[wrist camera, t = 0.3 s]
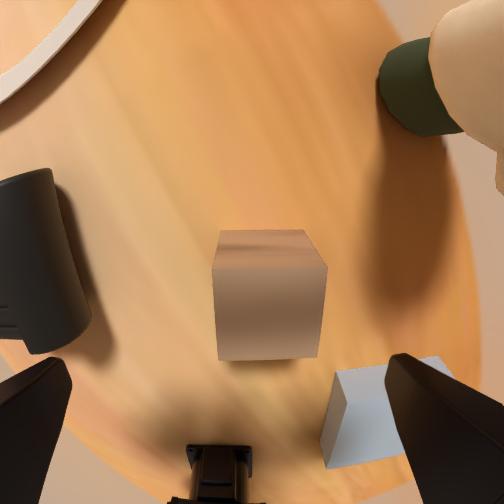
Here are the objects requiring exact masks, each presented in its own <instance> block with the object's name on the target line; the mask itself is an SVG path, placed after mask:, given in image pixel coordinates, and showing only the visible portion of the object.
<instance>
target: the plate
mask: <svg viewBox="0 0 504 504" xmlns="http://www.w3.org/2000/svg"><path fill="white" fill-rule="evenodd" d="M101 2H102V0H78V1H77V3H76V4H75V5H74V6H73V7H72V9H71V10H70V11H69V12H68V13H67V15H66V16H65V17H64V18H63V19H62V20H61V22H60V23H59V24H58V25H57V26H56V27H55V28H54V29H53V30H52V31H51V33H50V34H49V35H48V36H47V37H46V38H45V39H44V40H43V41H42V42H41V43H40V44H39V45H38V46H37V47H36V48H35V49H34V50H33V51H31V52H30V53H29V54H28V55H27V56H26V57H25V58H24V59H23V60H22V61H20V62H19V63H18V64H17V65H15V66H14V67H13V68H11V69H10V70H8V71H7V72H5V73H4V74H2V75H0V104H1V103H3V102H4V101H5V100H7V99H8V98H10V97H11V96H12V95H13V94H14V93H16V92H17V91H18V90H19V89H20V88H22V87H23V86H24V85H25V84H26V83H27V82H28V81H29V80H30V79H32V78H33V77H34V76H35V75H36V74H37V73H38V72H39V71H40V70H41V69H42V68H43V67H44V66H45V65H46V64H47V63H48V62H49V61H50V60H51V59H52V58H53V57H54V56H55V55H56V54H57V53H58V52H59V51H60V50H61V49H62V47H63V46H64V45H65V44H66V43H67V42H68V41H69V40H70V39H71V37H72V36H73V35H74V34H75V33H76V32H77V31H78V30H79V28H80V27H81V26H82V25H83V24H84V22H85V21H86V20H87V19H88V18H89V17H90V16H91V14H92V13H93V12H94V11H95V9H96V8H97V7H98V6H99V4H100V3H101Z"/></svg>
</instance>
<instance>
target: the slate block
mask: <svg viewBox="0 0 504 504" xmlns="http://www.w3.org/2000/svg"><path fill="white" fill-rule="evenodd" d="M418 360H420V361H422V362H424V363H425V364H427V365H429V366H431V367H433V368H435V369H437V370H438V371H440V372H442V373H444V374H446V375H448V376H450V377H452V378H454V376H453V375H452V374H451V372H450V371H449V370H448V368H447V367H446V366H445V364H444V363H443V362H442V360H441V359H440V358H439V356H438V355H437V356H432V357H427V358H422V359H418ZM387 367H388V364H386V365H379V366H372V367H364V368H356V369H348V370H338V371H336V373H335V378H334V383H333V387H332V392H331V397H330V401H329V405H328V410H327V414H326V418H325V422H324V426H323V430H322V434H321V438H320V444H321V449H322V453H323V458H324V462H325V467H326V469H332V468H339V467H345V466H350V465H356V464H361V463H366V462H371V461H375V460H380V459H384V458H388V457H392V456H396V455H400V454H404V453H405V450H404V448H403V445H402V443H401V440H400V437H399V435H398V432H397V429H396V425H395V422H394V418H393V414H392V410H391V407H390V403H389V399H388V396H387V392H386V389H385V385H384V378H385V374H386V371H387ZM454 379H455V378H454ZM455 380H456V379H455Z"/></svg>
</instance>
